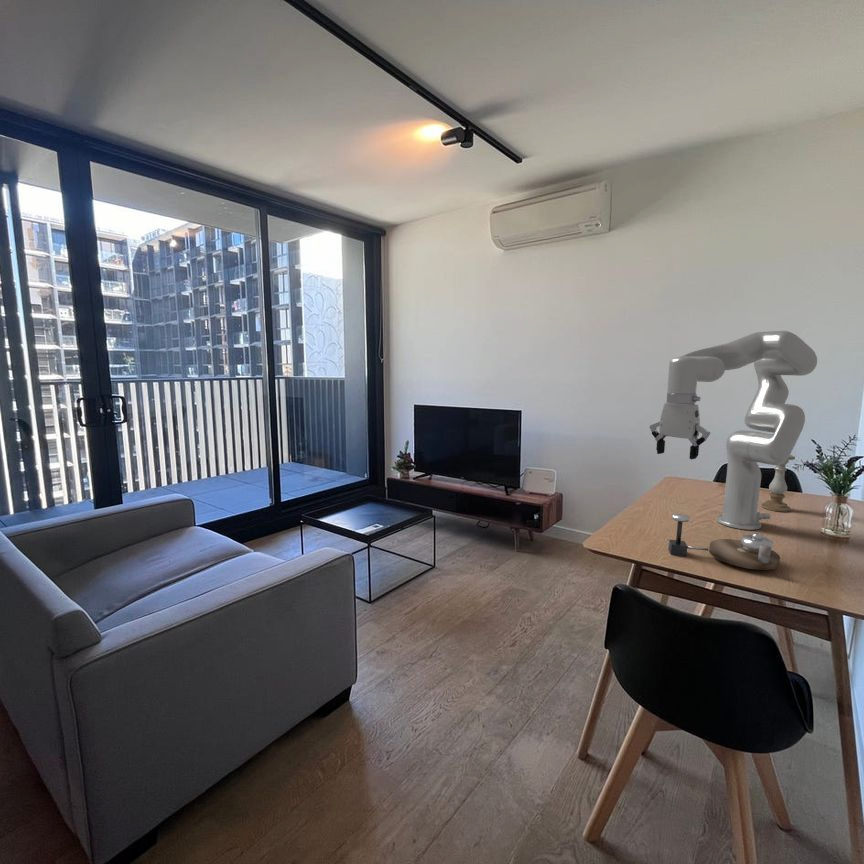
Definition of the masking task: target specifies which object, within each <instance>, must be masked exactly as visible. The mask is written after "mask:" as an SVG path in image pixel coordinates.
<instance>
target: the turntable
mask: <svg viewBox="0 0 864 864" xmlns="http://www.w3.org/2000/svg"><path fill="white" fill-rule="evenodd" d="M708 552H709V553H710V555H711V556H712V557H714V559H717V560H719V561H721V562H723V563H727V564H729V565H731V566H735V567H740V568H743V569H750V570H755V571H756V570H758V571H759V570H760V571H762V570H763V571H769V570H775V569H777V568H779V566H780V560H781V556H780V554H778V552H776V551H774V550H773V549H772V554H770V553H771V547H770V546H767V545H760V547H759V555H757V554H752V553H749V552H746V551H744V550H743V549H741V539H733V538H732V539H730V538H720V539H714V540H712V541H710V543H709V548H708Z"/></svg>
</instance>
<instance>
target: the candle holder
mask: <svg viewBox="0 0 864 864" xmlns="http://www.w3.org/2000/svg"><path fill="white" fill-rule="evenodd" d="M795 459H796V457H795V455H792V454H790V456H789V458H788V459H787V460H786V461H785V462H784V463H783V464H781V465H775V467H774V468H773V469H774V471H775V473H774V477H773V479H772V480H771V482H770V483H769V485H768V488H769V491H770V493H769V495H768V496H770V500H769V499H768V500H765V501H764V502H762V503H761V508H763V509H765V510H769V511H773V512H779V513H787V512H788V511H789V512H790V511H791V507H790V506H788V504H787V503H786V502H784V501H783V499H784V498H786V495H785V493H786V492H787V491H788V485H787V483H786V480H785V476H786V475H785V474H786V471H787V470H788V469H787V467H786V465H787V464H788V463H789V461H794V460H795Z"/></svg>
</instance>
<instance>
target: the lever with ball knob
mask: <svg viewBox="0 0 864 864" xmlns="http://www.w3.org/2000/svg"><path fill="white" fill-rule="evenodd" d="M671 520H673V521H676V522H677V525H676V538H675V539H668V546H667V547H668V549H667V550H668V552H669V553H670V555H672V556H678V557H679V556H680V557H686V558H687V555H688V549H690V550H698V551H707V552H709V548H704V547H699V546H688V544H687V543H686V541H685V540H682V531H683V524H684V523H688V522H690V516H689V515H688V514H683V513H676V512H675V513H674V512H673V513H672V514H671Z"/></svg>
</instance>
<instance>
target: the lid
mask: <svg viewBox="0 0 864 864" xmlns="http://www.w3.org/2000/svg"><path fill="white" fill-rule="evenodd" d="M740 540H741V549H743V550H744V551H746V552H749V553H752V554H757V555H759V547H760V545H767V546H770V547H771V553H770V554H772V550H773V545H774V541H773V540H771V539H769V538H767V537H764V534H762V533H759V532H752V534H744V535H741V539H740Z"/></svg>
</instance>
